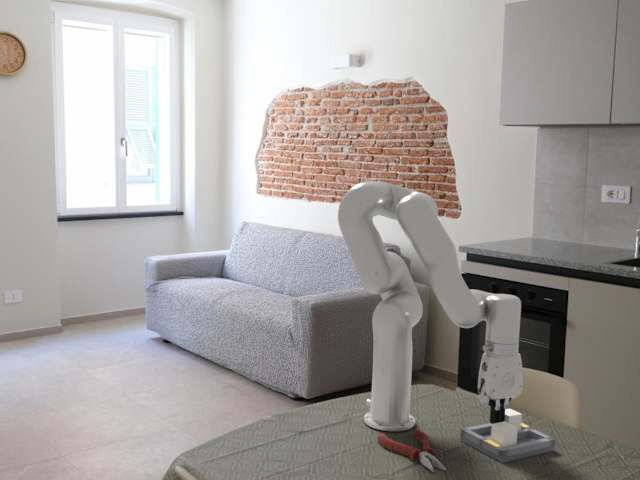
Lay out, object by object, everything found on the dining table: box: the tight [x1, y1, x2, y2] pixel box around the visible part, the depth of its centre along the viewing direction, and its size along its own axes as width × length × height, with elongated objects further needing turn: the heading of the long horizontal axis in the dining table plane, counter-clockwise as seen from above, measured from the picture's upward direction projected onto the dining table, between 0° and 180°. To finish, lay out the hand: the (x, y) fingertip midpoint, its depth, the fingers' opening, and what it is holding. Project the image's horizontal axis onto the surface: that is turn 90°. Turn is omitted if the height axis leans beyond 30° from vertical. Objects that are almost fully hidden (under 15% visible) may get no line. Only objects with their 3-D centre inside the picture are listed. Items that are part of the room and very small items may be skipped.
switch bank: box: [459, 422, 556, 463], centre depth 172 cm, size 14×16×3 cm
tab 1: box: [491, 421, 518, 447], centre depth 167 cm, size 4×4×5 cm
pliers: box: [377, 429, 447, 473], centre depth 165 cm, size 12×20×3 cm, turn 20°
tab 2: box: [505, 408, 523, 431], centre depth 176 cm, size 4×4×5 cm
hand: (496, 424), depth 174 cm, fingers closed
